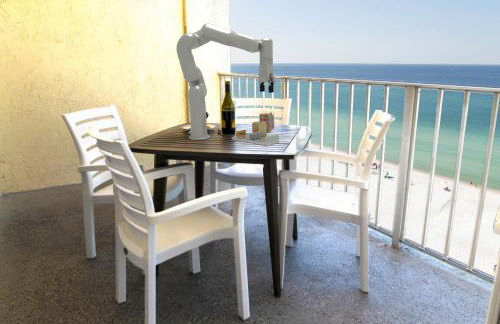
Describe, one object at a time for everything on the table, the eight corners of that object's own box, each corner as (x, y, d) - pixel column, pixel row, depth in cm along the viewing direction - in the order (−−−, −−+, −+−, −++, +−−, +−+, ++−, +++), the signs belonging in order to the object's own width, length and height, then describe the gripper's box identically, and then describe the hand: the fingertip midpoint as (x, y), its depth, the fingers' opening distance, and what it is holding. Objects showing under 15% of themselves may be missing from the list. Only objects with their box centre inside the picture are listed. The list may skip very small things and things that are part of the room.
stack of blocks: (265, 127, 259) (265, 109, 256) (274, 127, 258) (274, 109, 254) (259, 132, 239) (259, 113, 236) (269, 133, 237) (269, 113, 234)
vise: (232, 139, 219) (231, 132, 218) (244, 137, 226) (244, 129, 225) (267, 145, 201) (267, 137, 200) (279, 142, 208) (278, 134, 207)
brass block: (252, 137, 225) (252, 122, 222) (260, 135, 230) (260, 120, 227) (258, 138, 221) (258, 123, 219) (266, 136, 226) (266, 121, 224)
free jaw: (233, 136, 218) (233, 131, 217) (245, 134, 224) (245, 129, 224) (250, 139, 209) (250, 134, 208) (262, 136, 216) (262, 131, 215)
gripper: (253, 61, 218) (253, 91, 223) (268, 61, 204) (269, 93, 208) (264, 61, 222) (264, 91, 226) (280, 61, 207) (280, 92, 212)
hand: (266, 92), depth 217 cm, fingers open, 9 cm apart
